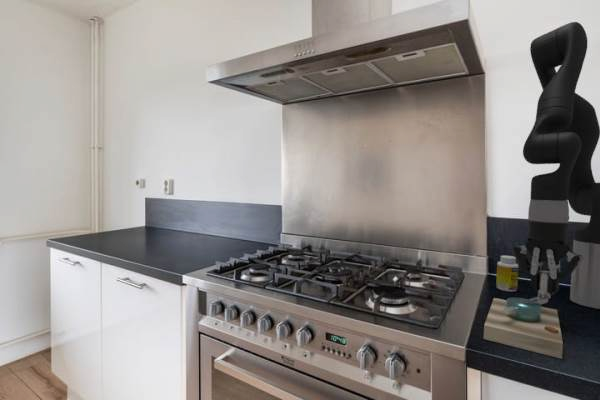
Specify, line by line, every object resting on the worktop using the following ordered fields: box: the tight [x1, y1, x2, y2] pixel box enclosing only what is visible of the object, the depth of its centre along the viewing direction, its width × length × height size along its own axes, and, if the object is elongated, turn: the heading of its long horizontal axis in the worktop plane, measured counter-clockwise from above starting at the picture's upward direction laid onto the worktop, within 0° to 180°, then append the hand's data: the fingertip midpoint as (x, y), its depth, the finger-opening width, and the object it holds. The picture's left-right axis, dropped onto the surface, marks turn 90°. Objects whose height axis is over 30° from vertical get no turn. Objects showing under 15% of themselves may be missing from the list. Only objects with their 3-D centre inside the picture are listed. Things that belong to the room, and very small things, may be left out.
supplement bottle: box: [495, 255, 519, 293], centre depth 101 cm, size 6×6×10 cm
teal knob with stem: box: [503, 270, 552, 322], centre depth 74 cm, size 17×6×9 cm, turn 119°
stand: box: [483, 297, 564, 359], centre depth 74 cm, size 20×13×4 cm, turn 144°
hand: (544, 291), depth 78 cm, fingers closed on teal knob with stem, 2 cm apart
